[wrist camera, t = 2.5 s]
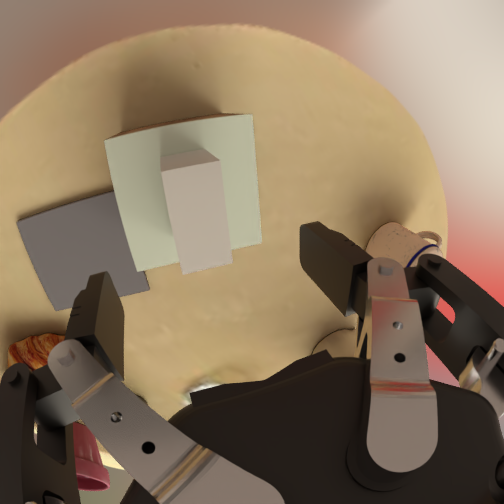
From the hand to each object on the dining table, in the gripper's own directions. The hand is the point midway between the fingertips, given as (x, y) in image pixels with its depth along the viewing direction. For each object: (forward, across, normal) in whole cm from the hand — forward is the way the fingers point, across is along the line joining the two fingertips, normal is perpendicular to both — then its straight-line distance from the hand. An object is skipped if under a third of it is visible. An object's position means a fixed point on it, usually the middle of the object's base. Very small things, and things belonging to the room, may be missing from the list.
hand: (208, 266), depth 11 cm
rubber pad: (+18, +12, +6) cm, 23 cm away
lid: (+11, 0, 0) cm, 11 cm away
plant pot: (+19, +34, +43) cm, 58 cm away
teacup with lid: (+18, -30, +15) cm, 38 cm away
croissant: (+19, +27, +20) cm, 39 cm away
